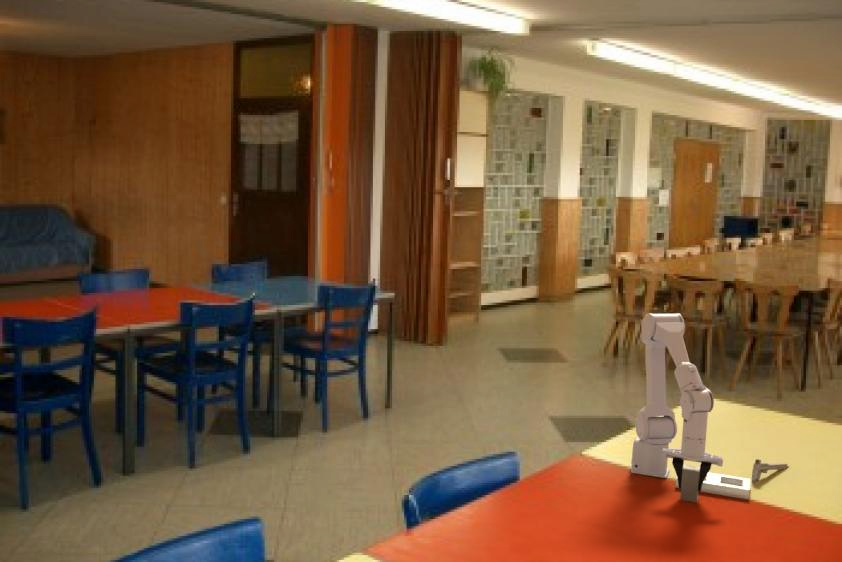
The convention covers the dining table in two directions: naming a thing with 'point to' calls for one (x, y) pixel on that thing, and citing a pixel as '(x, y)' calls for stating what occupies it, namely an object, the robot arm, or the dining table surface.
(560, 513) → the dining table surface
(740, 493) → the white slotted board
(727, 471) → the dining table surface
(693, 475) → the peg
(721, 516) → the dining table surface
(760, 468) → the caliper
